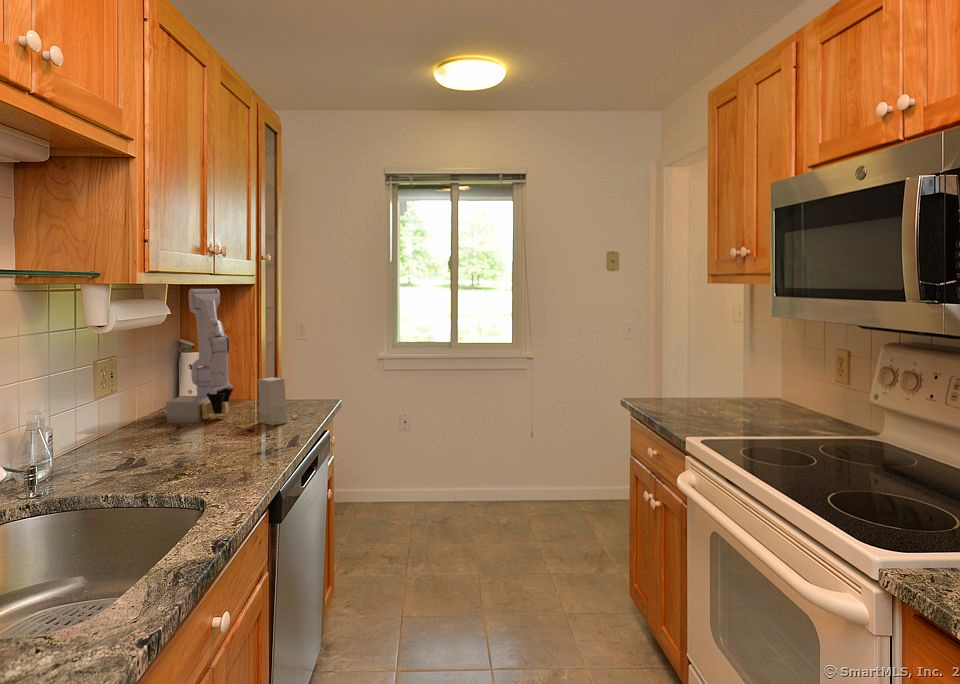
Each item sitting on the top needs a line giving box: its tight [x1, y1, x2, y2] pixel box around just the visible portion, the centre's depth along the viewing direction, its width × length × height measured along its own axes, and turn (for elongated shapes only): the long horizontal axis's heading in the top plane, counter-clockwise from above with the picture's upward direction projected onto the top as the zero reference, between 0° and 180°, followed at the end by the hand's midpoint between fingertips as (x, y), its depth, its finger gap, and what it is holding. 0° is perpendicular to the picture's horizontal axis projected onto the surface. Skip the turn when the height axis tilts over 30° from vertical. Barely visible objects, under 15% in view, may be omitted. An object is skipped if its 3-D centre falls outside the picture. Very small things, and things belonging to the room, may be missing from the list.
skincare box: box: [257, 377, 288, 426], centre depth 217 cm, size 8×6×15 cm
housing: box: [166, 395, 210, 424], centre depth 223 cm, size 12×10×7 cm
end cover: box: [202, 401, 230, 420], centre depth 223 cm, size 6×15×5 cm, turn 93°
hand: (220, 411), depth 224 cm, fingers open, 6 cm apart
